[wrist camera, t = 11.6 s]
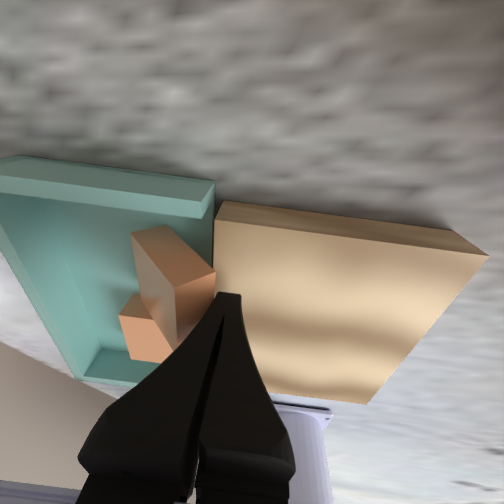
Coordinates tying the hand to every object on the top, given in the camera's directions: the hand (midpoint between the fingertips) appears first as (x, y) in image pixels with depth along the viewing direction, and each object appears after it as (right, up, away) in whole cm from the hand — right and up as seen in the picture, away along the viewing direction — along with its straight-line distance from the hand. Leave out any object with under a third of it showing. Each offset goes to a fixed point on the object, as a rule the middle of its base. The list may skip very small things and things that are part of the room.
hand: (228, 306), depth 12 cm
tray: (-7, 0, +5) cm, 8 cm away
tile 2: (-5, -3, +5) cm, 8 cm away
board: (+5, -1, +5) cm, 7 cm away
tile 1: (-3, +1, 0) cm, 3 cm away
